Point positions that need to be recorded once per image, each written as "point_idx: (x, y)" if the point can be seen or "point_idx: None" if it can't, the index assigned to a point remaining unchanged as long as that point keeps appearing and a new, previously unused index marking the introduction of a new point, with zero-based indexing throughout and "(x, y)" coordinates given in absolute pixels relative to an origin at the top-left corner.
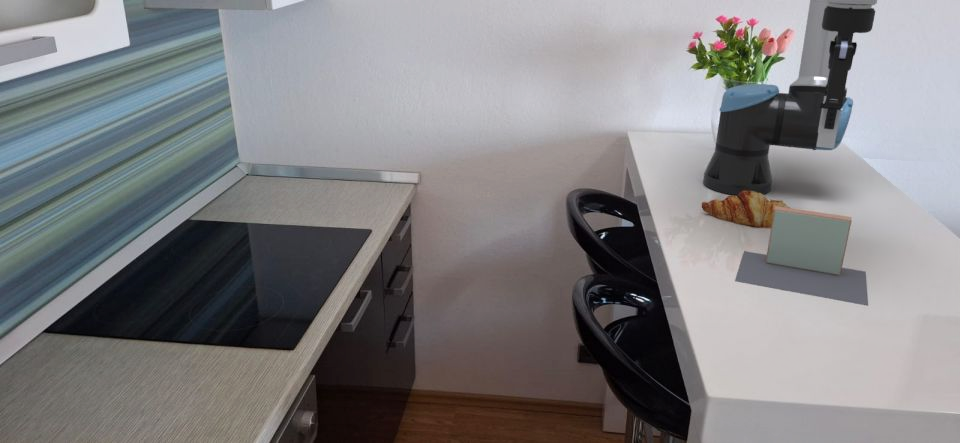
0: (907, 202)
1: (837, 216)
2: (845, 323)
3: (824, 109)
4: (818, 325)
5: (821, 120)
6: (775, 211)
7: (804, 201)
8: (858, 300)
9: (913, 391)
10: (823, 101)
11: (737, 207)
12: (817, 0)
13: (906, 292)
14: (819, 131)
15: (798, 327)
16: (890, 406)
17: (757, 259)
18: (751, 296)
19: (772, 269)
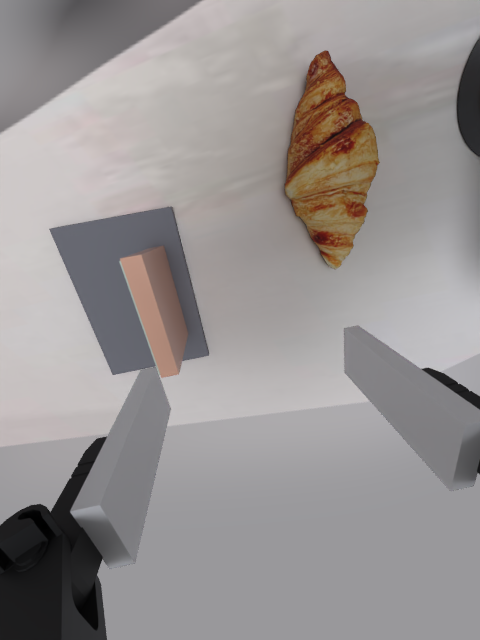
0: None
1: (164, 357)
2: (63, 362)
3: (76, 509)
4: (33, 342)
5: (102, 446)
6: (120, 261)
7: (460, 228)
8: (118, 365)
9: None
10: (437, 404)
11: (302, 143)
12: None
13: (191, 391)
14: (123, 407)
15: (7, 327)
16: None
17: (152, 234)
18: (40, 259)
19: None
